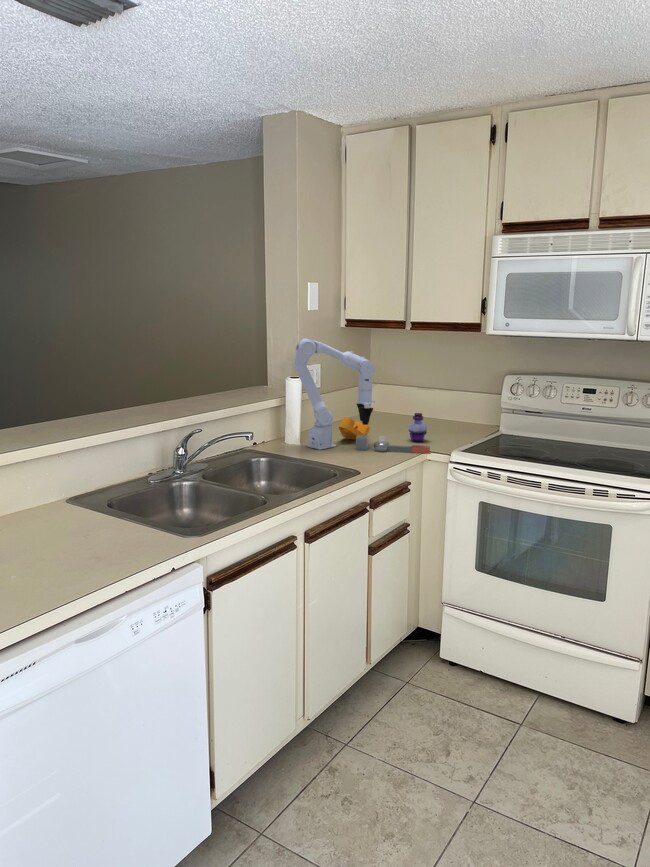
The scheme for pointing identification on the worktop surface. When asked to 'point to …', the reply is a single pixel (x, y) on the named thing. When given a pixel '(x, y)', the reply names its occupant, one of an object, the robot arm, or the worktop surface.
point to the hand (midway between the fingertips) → (364, 422)
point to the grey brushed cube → (361, 442)
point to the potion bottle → (417, 428)
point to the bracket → (352, 428)
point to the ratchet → (399, 447)
